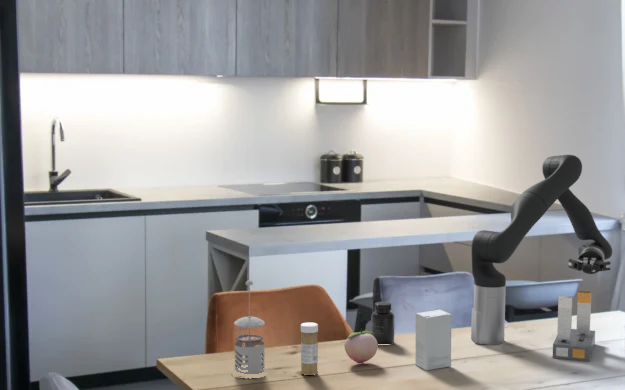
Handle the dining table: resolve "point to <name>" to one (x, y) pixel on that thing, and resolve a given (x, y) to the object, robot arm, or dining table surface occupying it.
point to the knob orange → (583, 312)
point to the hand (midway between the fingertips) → (587, 269)
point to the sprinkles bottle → (309, 348)
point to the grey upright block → (564, 317)
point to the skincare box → (433, 339)
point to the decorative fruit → (361, 346)
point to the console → (575, 346)
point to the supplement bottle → (383, 323)
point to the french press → (249, 344)
